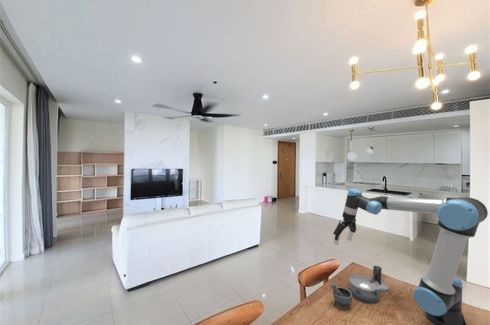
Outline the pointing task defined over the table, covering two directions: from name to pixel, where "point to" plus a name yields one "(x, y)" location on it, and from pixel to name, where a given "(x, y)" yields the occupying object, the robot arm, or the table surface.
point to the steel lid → (379, 278)
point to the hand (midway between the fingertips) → (342, 242)
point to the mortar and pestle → (341, 296)
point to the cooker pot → (364, 288)
